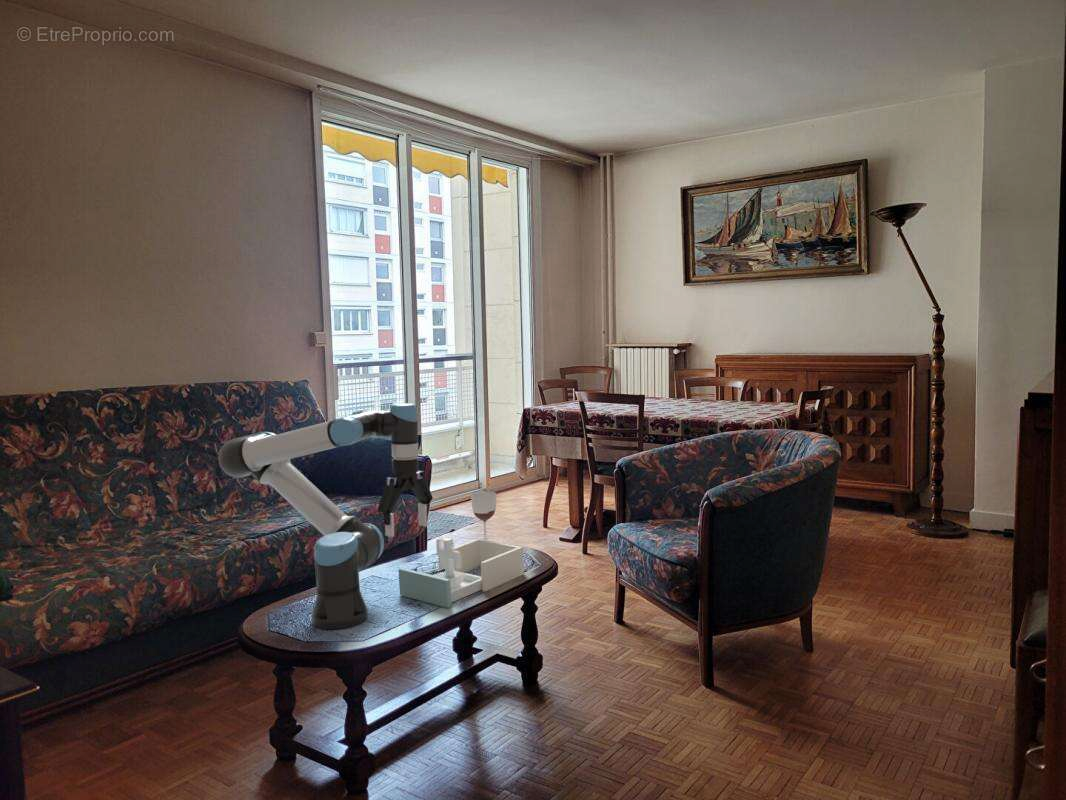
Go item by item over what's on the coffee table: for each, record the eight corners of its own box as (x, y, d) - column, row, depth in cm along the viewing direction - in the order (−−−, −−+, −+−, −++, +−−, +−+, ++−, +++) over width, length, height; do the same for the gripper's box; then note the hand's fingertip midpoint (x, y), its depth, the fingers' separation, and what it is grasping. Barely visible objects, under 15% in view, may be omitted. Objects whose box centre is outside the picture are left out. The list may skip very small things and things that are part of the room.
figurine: (452, 592, 231) (450, 543, 230) (431, 586, 237) (428, 538, 236) (469, 586, 237) (467, 538, 235) (448, 580, 243) (446, 533, 241)
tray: (447, 607, 222) (446, 580, 221) (399, 594, 234) (398, 569, 233) (491, 588, 237) (490, 563, 236) (444, 577, 249) (443, 553, 248)
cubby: (484, 591, 235) (483, 562, 234) (439, 580, 247) (438, 553, 246) (523, 574, 250) (522, 547, 249) (479, 564, 262) (478, 538, 261)
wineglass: (470, 559, 268) (468, 497, 266) (477, 551, 277) (474, 491, 275) (495, 559, 267) (492, 497, 264) (501, 551, 276) (498, 491, 274)
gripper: (424, 451, 233) (426, 520, 235) (363, 462, 213) (365, 538, 215) (443, 453, 229) (444, 523, 231) (382, 465, 208) (384, 542, 210)
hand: (406, 530), depth 223 cm, fingers open, 13 cm apart
